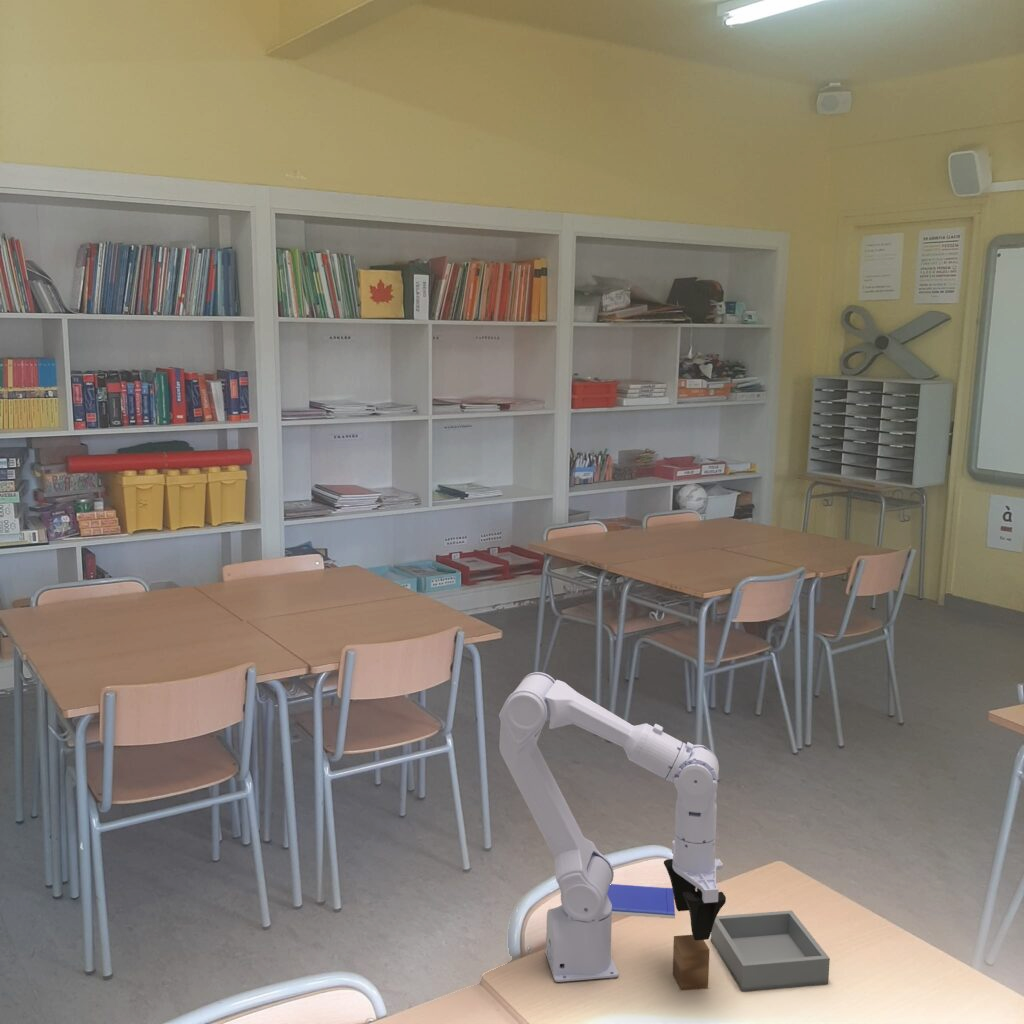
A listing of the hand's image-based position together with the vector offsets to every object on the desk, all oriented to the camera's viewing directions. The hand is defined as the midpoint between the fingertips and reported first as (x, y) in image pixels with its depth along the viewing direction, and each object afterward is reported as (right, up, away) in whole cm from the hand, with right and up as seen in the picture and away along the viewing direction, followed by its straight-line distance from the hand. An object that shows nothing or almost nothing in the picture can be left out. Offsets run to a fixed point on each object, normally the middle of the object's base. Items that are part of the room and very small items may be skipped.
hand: (692, 923), depth 145 cm
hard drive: (-5, -6, +23) cm, 24 cm away
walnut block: (0, -9, +1) cm, 9 cm away
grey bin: (+12, -8, +6) cm, 16 cm away
